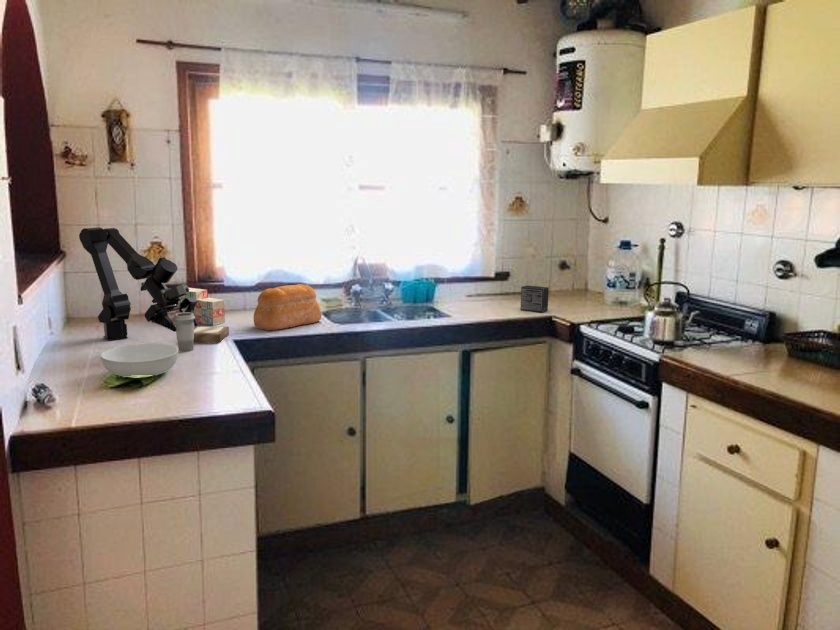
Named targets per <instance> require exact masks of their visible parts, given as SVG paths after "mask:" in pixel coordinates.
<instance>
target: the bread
mask: <svg viewBox="0 0 840 630" xmlns="http://www.w3.org/2000/svg"><path fill="white" fill-rule="evenodd" d="M321 320H322V311H321V306H320V304H319V303H318V301H317V293H316V291H315V290H314V288H312V287H311V286H310V285H306V284H302V283H297V284H294V285H293V284H291V285H290V284H289V285H282V286H281V285H280V286H276V287H273V288H272V287H270V288H266V289H264V290H263V291H261V292H260V294H259V295H258V297H257V306H256V308H255V310H254V312H253V324H254V328H257V329H259V328H260V330H264V329H265V330H266V331H278V329H279V330H282V329H288V328H289V327H290V328H294V327H297V326H302V325H303V326H304V325H310V324H315V323H317V322H319V321H321ZM265 330H264V331H265Z"/></svg>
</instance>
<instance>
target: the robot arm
mask: <svg viewBox="0 0 840 630" xmlns="http://www.w3.org/2000/svg"><path fill="white" fill-rule="evenodd" d="M78 239H79V241H80V243H81V245H82V248H83V249H84V250H85V251H86V252H87V253H88V254H90V256H91V259H92V261H93V264H94V268H95V271H96V274H97V277H98V280H99V283H100V286H101V289H102V292H103V298H102V302H101V304H102V310H101V311H100V313H99V314H98V315H97V319H98V322H99V323H103V329H104V331H103V332H104V335H102V337H103V338H104V339H105V340H107V341H110V342H111V341H117V340H123V339H125V340H126V339H128V337H129V336H128V328H127V327H128V325H127V324H126V320H129V318H130V313H131V310H132V308H131V305H132V304H131V302H130V298H129V295H128V294H127V293H123V292H121V291H120V288H119V286H118V283H117V279H116V277H115V273H114V271H113V268H112V265H111V261H110V259H109V255H108V252H107V249H108V246H110V247H111V248H112V249H113V250H114V252H115V253H116V254H117V255H118V256H119V257H120V258H121V259H122V260H123V261H124V262H125V264H126V268H127V269H126V270H127V271H128V272H129V274H130V276H131V277H132V278H133V279H134V280H136V281H139V280H145V281H144V282H141V284H140V285H141V286H140V291H141V292H144V291H147V292H148V293H149V296H150V297H151V298H152V300H151V302H152V304H150V306H149V307H148V309H147V310H146V311H145V313H144V318H145V320H147V322H148V323H149V322H151V323H152V324H156V325H159V326H161V327H164V328H165V329H167V330H170V331H171V332H174V333H176V330H177V329H176V327H175V323H173V321H172V320H171V318H170V317H169V315H168V313H170V312H174V311H175V312H176V310H179V311H180V312H181V313H182V312H190V313H193V315H194V316H195V312H194V308H195V306H196V304H197V303H198V301H197V299H196V298H195V297H188V298H184V300H183V301H182V302H181V303H179V304H178V301H180V300H181V298H180V297H181V296H183V295H187V292H189V288H190V287H189V286H188V285H187V284H186V283H185V282H184V283H180V284H178V285H176V286H172V287H167V285H166V284H168V283H169V282H170V281H171V279H172V278H173V277H174V275H175V274H176V273H177V271H178V266H177V264H176V263H175V262H174V261H172V260H170V259H167V258H166V257H165V256H161V257H159V258H158V259H157V262H156V263H154V262H153V261H151V260H150V259H149V258H147V257H146V256H144V255H142V254H139V253H138V252H137V251H136V250H135V248H133V247H132V245H131V244H130V243H129V242H128V241H127V240H126V239H125V238H124V237H123V236H122V234H120V230H119V229H118V228H116V227H109V228H107V227H106V228H102V227H100V226H98V227H86V228H82V229H81V230H80V232H79V235H78ZM193 322H194V327H195V326H198V324H199V323H197V320H196V316H195V318H194V319H193Z"/></svg>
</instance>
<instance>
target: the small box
mask: <svg viewBox="0 0 840 630" xmlns="http://www.w3.org/2000/svg"><path fill="white" fill-rule="evenodd" d="M520 289H521V290H520V311H523V312H530V311H531V313H532V312H533V313H541V314H542V313H545V312H548V310H549V287H548V286H547V287H546V286H538V285H537V286H536V285H527V284H526V285H524V286H521V288H520Z"/></svg>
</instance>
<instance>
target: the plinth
mask: <svg viewBox="0 0 840 630" xmlns="http://www.w3.org/2000/svg"><path fill="white" fill-rule="evenodd" d="M229 335H230V328H229V326H203V325H202V326H201V325H200V326H198V325H197V326H194V339H193V344H195V343H197V344H198V343H199V344H200V343H204V344H206V343H208V342H221V341H222V340H223V339H224V338H225V337H226V338H228V336H229ZM226 338H225V339H226ZM225 339H224V340H225ZM224 340H223V341H224ZM223 341H222V342H223ZM222 342H221V343H222Z"/></svg>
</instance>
